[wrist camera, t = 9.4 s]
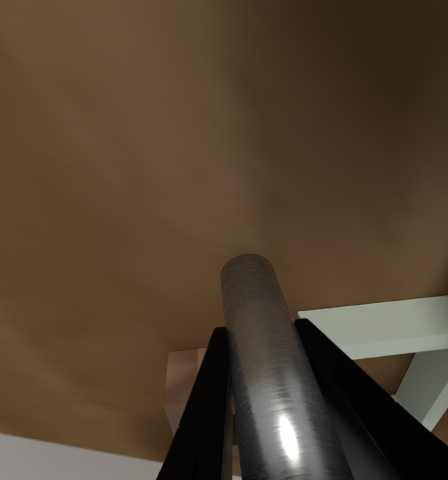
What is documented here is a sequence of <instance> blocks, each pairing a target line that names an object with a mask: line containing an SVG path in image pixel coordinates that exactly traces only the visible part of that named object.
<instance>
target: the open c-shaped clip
mask: <svg viewBox="0 0 448 480" xmlns="http://www.w3.org/2000/svg"><path fill="white" fill-rule="evenodd" d="M298 318H307V319H309V320H310V321H311V322H312V323H313V324H314V325H315V326H316V327H317V328H319V329H320V330H321V331H322V332H323V333H324V334H325V335H326V336H327V337H328V338H329V339H330V340H331V341H333V342H334V343H335V344H336V345H337V346H338V347H339V348H340V349H341V350H342V351H343V352H344V353H345V354H346V355H348V356H349V357H350V358H351V359H352V360H353V359H362V358H370V357H379V356H387V355H396V354H404V353H413V352H416V353H415V355H414V357H413V359H412V362H411V364H410V366H409V368H408V370H407V372H406V374H405V376H404V378H403V380H402V382H401V384H400V386H399V388H398V390H397V392H396V394H395V395H391V396H392V397H393V398H394V399H395V402H396V401H397V402H398V403H399V404H400V405H401V406H402V407H404V408H405V409H406V410H407V411H408V412H409V413H410V414H411V415H412V416H413V417H415V418H416V419H417V420H418V421H419V422H420V423H421V424H422V425H423V426H425V427H426V428H427V429H428V430H429V431H430V432H431V431H432V429H433V428H434V426H435V425H436V424H437V422H438V421H439V419H440V418H441V417H442V415H443V414H444V412H445V411H446V410H447V408H448V295H447V296H438V297H428V298H419V299H410V300H401V301H392V302H383V303H373V304H364V305H355V306H346V307H337V308H328V309H318V310H309V311H300V312H298V314H297V319H298Z"/></svg>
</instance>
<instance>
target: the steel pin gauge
mask: <svg viewBox="0 0 448 480" xmlns="http://www.w3.org/2000/svg"><path fill="white" fill-rule="evenodd" d="M221 288H222V298H223V307H224V316H225V326H226V329H227V337H228V346H229V355H230V366H231V382H232V392H233V401H234V411H235V420H236V429H237V439H238V448H239V458H240V467H241V477H242V480H354V477H353V475H352V472H351V469H350V467H349V464H348V462H347V459H346V456H345V454H344V451H343V449H342V446H341V443H340V441H339V438H338V436H337V433H336V430H335V428H334V425H333V422H332V420H331V417H330V415H329V412H328V409H327V407H326V404H325V402H324V399H323V396H322V394H321V391H320V389H319V386H318V383H317V381H316V378H315V376H314V373H313V370H312V368H311V365H310V363H309V360H308V357H307V355H306V352H305V350H304V347H303V344H302V342H301V339H300V337H299V334H298V331H297V329H296V326H295V324H294V321H293V318H292V316H291V313H290V311H289V308H288V305H287V303H286V300H285V298H284V295H283V292H282V290H281V287H280V285H279V282H278V279H277V277H276V274H275V272H274V269H273V266H272V265H271V263H270V262H269V261H268V260H267V259H266V258H264V257H262V256H260V255H256V254H244V255H240V256H237V257H235V258H233V259H231V260H230V261H229V262H228V263H227V264H226V265H225V266H224V267H223V269H222V272H221Z"/></svg>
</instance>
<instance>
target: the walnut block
mask: <svg viewBox="0 0 448 480" xmlns="http://www.w3.org/2000/svg"><path fill="white" fill-rule="evenodd" d="M206 349H207V348H200V349H191V350H182V351H173V352H169V355H168V365H167V374H166V384H165V393H164V403H163V406H164V409H165V412H166V415H167V417H168V420H169V423H170V426H171V429H172V432H173V435H175V433H176V430H177V428H179V426H178V425H179V422H180V420H181V417H182V414H183V411H184V409H185V406H186V403H187V401H188V398H189V395H190V393H191V390H192V387H193V385H194V382H195V379H196V376H197V374H198V371H199V368H200V366H201V363H202V360H203V358H204V355H205V352H206ZM233 457H239V448H238V439H237V429H236V420H235V411H234V401H233V444H232V458H233Z"/></svg>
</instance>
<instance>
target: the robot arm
mask: <svg viewBox="0 0 448 480" xmlns="http://www.w3.org/2000/svg"><path fill="white" fill-rule="evenodd" d="M294 324H295V326H296V329H297V331H298V334H299V337H300V339H301V342H302V344H303V347H304V350H305V352H306V355H307V357H308V360H309V363H310V365H311V368H312V370H313V373H314V376H315V378H316V381H317V383H318V386H319V389H320V391H321V394H322V396H323V399H324V402H325V404H326V407H327V409H328V412H329V415H330V417H331V420H332V422H333V425H334V428H335V430H336V433H337V436H338V438H339V441H340V443H341V446H342V449H343V451H344V454H345V456H346V459H347V462H348V464H349V467H350V469H351V472H352V475H353V477H354V480H448V446H447V445H446V444H445V443H444V442H442V441H441V440H440V439H439V438H438V437H436V436H435V435H434V434H433V433H432V432H430V431H429V430H428V429H427V428H426V427H425V426H423V425H422V424H421V423H420V422H419V421H418V420H417V419H416V418H415V417H413V416H412V415H411V414H410V413H409V412H408V411H407V410H406V409H405V408H404V407H402V406H401V405H400V404H399V403H398V402H397V401H396V402H395V399H394V398H393V397H392V396H391V395H389V394H388V393H387V392H386V391H385V390H384V389H383V388H382V387H381V386H380V385H379V384H378V383H377V382H376V381H374V380H373V379H372V378H371V377H370V376H369V375H368V374H367V373H366V372H365V371H364V370H363V369H362V368H360V367H359V366H358V365H357V364H356V363H355V362H354V361H353V360H352V359H351V358H350V357H349V356H348V355H346V354H345V353H344V352H343V351H342V350H341V349H340V348H339V347H338V346H337V345H336V344H335V343H334V342H333V341H331V340H330V339H329V338H328V337H327V336H326V335H325V334H324V333H323V332H322V331H321V330H320V329H319V328H317V327H316V326H315V325H314V324H313V323H312V322H311V321H310V320H309V319H307V318H298V319H295V322H294ZM178 426H179V428H177V430H176V433H175V435H174V438H173V441H172V443H171V446H170V448H169V451H168V453H167V456H166V458H165V461H164V463H163V465H162V468H161V470H160V472H159V474H158V477H157V478H156V480H232V444H233V392H232V382H231V366H230V355H229V346H228V337H227V329H226V327H216V328H215V329H214V331H213V333H212V336H211V339H210V341H209V344H208V347H207V349H206V352H205V355H204V358H203V360H202V363H201V366H200V368H199V371H198V374H197V376H196V379H195V382H194V385H193V387H192V390H191V393H190V395H189V398H188V401H187V403H186V406H185V409H184V411H183V414H182V417H181V420H180V422H179V425H178Z"/></svg>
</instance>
